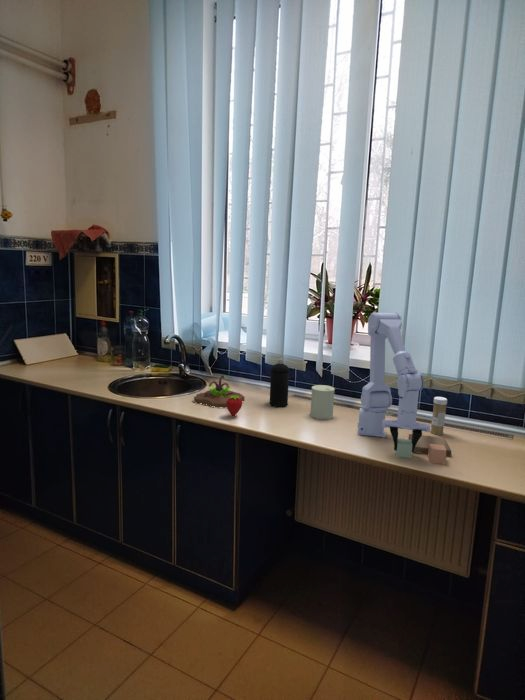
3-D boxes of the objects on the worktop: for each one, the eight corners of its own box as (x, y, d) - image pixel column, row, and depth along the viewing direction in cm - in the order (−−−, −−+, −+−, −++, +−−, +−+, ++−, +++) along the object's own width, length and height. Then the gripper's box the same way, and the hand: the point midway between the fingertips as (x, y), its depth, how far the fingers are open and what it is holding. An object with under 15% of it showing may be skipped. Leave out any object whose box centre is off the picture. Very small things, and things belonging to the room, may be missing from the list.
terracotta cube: (429, 462, 149) (431, 448, 148) (427, 456, 154) (429, 443, 153) (444, 464, 148) (446, 450, 147) (442, 458, 153) (444, 445, 152)
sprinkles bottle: (428, 430, 178) (431, 396, 175) (439, 430, 178) (443, 396, 176) (433, 435, 173) (437, 399, 171) (445, 435, 174) (449, 399, 171)
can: (321, 421, 184) (323, 391, 182) (305, 414, 191) (306, 385, 189) (337, 416, 190) (339, 387, 188) (321, 410, 197) (322, 382, 195)
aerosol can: (287, 408, 198) (289, 361, 195) (267, 406, 200) (269, 360, 196) (289, 402, 206) (291, 357, 203) (270, 401, 208) (272, 356, 204)
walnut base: (411, 452, 157) (412, 446, 156) (408, 439, 168) (408, 433, 168) (450, 456, 154) (451, 450, 154) (444, 443, 166) (444, 437, 165)
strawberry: (245, 415, 187) (246, 390, 186) (235, 420, 181) (236, 395, 179) (232, 412, 190) (232, 388, 188) (222, 417, 183) (223, 392, 182)
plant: (252, 400, 209) (252, 375, 207) (224, 411, 193) (224, 384, 191) (216, 392, 220) (217, 368, 218) (187, 401, 204) (187, 376, 202)
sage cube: (396, 456, 152) (397, 443, 152) (395, 451, 157) (396, 438, 156) (411, 458, 152) (412, 444, 151) (409, 452, 156) (411, 439, 155)
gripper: (384, 411, 149) (381, 452, 152) (433, 416, 146) (428, 457, 149) (383, 405, 156) (380, 444, 158) (430, 409, 153) (425, 449, 156)
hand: (403, 450), depth 154 cm, fingers closed on sage cube, 4 cm apart
